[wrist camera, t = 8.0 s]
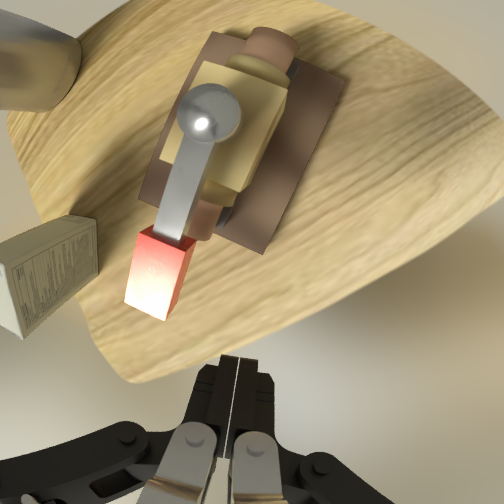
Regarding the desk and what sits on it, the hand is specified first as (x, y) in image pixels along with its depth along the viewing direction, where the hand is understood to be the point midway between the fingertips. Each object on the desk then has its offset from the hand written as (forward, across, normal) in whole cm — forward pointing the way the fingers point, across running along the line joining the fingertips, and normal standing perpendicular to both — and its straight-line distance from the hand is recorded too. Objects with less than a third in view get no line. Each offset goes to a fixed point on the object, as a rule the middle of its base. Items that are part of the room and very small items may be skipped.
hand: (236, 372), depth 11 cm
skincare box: (+14, +17, +2) cm, 22 cm away
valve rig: (+13, +3, -10) cm, 17 cm away
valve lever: (+5, +4, -6) cm, 8 cm away
